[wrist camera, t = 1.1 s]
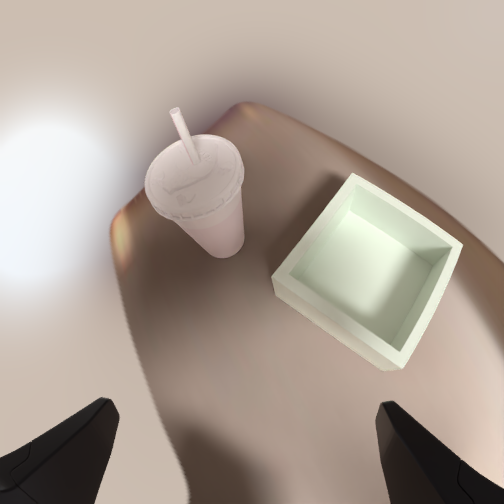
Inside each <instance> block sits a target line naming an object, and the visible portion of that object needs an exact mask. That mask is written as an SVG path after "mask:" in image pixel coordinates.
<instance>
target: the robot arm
mask: <svg viewBox="0 0 504 504" xmlns="http://www.w3.org/2000/svg"><path fill="white" fill-rule="evenodd" d="M118 423H119V413H118V411H117V409H116V407H115V405H114V403H113V401H112V400H111V399H108V398H103V397H101V398H99V399H97V400H95V401H94V402H93V403H91V404H89V405H88V406H86V407H85V408H83V409H82V410H80V411H79V412H77V413H76V414H74V415H73V416H71V417H69V418H68V419H66V420H64V421H63V422H61V423H60V424H58V425H57V426H55V427H53V428H52V429H50V430H49V431H47V432H45V433H44V434H42V435H40V436H39V437H37V438H36V439H34V440H32V442H29V443H27V444H26V445H24V446H22V447H21V448H19V449H17V450H15V451H13V452H11V453H9V454H7V455H5V456H3V457H1V458H0V504H94V503H95V500H96V496H97V493H98V490H99V487H100V484H101V481H102V478H103V475H104V472H105V470H106V467H107V464H108V461H109V458H110V455H111V451H112V448H113V443H114V439H115V435H116V431H117V427H118ZM376 430H377V437H378V444H379V452H380V460H381V465H382V469H383V473H384V477H385V481H386V485H387V489H388V494H389V498H390V502H391V504H504V489H503V488H502V487H500V486H498V485H497V484H495V483H493V482H492V481H490V480H488V479H487V478H485V477H484V476H482V475H481V474H479V473H478V472H477V471H476V470H474V469H473V468H472V467H470V466H469V465H468V464H467V463H466V462H464V461H463V460H461V459H460V458H459V457H458V456H457V455H456V454H455V453H454V452H452V451H451V450H450V449H449V448H448V447H447V446H445V445H444V444H443V443H442V442H441V441H439V440H438V439H437V438H436V437H435V436H434V435H433V434H431V433H430V432H429V431H428V430H427V429H426V428H424V427H423V426H422V425H421V424H420V423H419V422H417V421H416V420H415V419H414V418H413V417H412V416H411V415H409V414H408V413H407V412H406V411H405V410H404V409H403V408H401V407H400V406H399V405H398V404H397V403H396V402H394V401H386V402H382V403H381V404H380V407H379V410H378V413H377V416H376Z"/></svg>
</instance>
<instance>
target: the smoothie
mask: <svg viewBox="0 0 504 504" xmlns="http://www.w3.org/2000/svg"><path fill="white" fill-rule="evenodd" d="M170 115H171V117H172V120H173V122H174V124H175V126H176V128H177V131H178V133H179V135H180V137H181V140H179V141H177V142H175V143H173V144H171V145H170V146H168V147H167V148H166V149H164V150H163V151H162V152H161V153H160V154H159V155H158V156H157V157H156V158H155V159H154V161H153V162H152V163H151V165H150V167H149V169H148V171H147V174H146V177H145V192H146V195H147V197H148V199H149V200H150V202H151V204H152V206H153V207H154V209H155V210H156V211H157V212H158V213H159V214H160V215H162V216H164V217H165V218H167V219H170V220H173V221H174V222H175V223H177V224H178V225H179V226H180V227H181V228H182V229H183V230H184V231H185V232H186V233H187V234H188V235H189V236H191V237H192V238H193V239H194V240H195V241H196V242H197V243H198V244H199V245H200V246H201V247H202V248H204V249H205V250H206V251H207V252H208V253H209V254H210V255H212V256H214V257H216V258H228V257H231V256H233V255H234V254H236V253H237V252H238V251H239V250H240V249H241V247H242V246H243V243H244V238H245V236H244V223H243V209H242V196H241V185H242V183H243V181H244V166H243V162H242V159H241V156H240V153H239V151H238V149H237V148H236V147H235V145H234V144H232V143H231V142H230V141H228V140H227V139H225V138H222V137H220V136H216V135H194V136H190V133H189V131H188V128H187V126H186V124H185V121H184V119H183V116H182V114H181V111H180V109H179V108H173V109H172V110H170Z"/></svg>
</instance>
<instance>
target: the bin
mask: <svg viewBox="0 0 504 504" xmlns="http://www.w3.org/2000/svg"><path fill="white" fill-rule="evenodd" d="M462 247H463V244H461V243H460V242H459V241H457V240H456V239H455V238H453V237H452V236H451V235H449V234H448V233H447V232H445V231H444V230H442V229H441V228H440V227H438V226H437V225H435V224H434V223H432V222H431V221H430V220H428V219H427V218H425V217H424V216H422V215H421V214H419V213H418V212H416V211H415V210H413V209H412V208H410V207H409V206H407V205H405V204H404V203H402V202H401V201H399V200H398V199H396V198H394V197H393V196H391V195H390V194H388V193H386V192H385V191H383V190H381V189H380V188H378V187H376V186H375V185H373V184H371V183H369V182H368V181H366V180H364V179H363V178H361V177H359V176H357V175H356V174H354V173H352V174H351V175H350V177H349V178H348V179H347V180H346V182H345V183H344V184H343V186H342V187H341V188H340V190H339V191H338V192H337V194H336V195H335V196H334V198H333V199H332V200H331V201H330V203H329V204H328V205H327V207H326V208H325V209H324V211H323V212H322V213H321V214H320V216H319V217H318V218H317V220H316V221H315V222H314V223H313V225H312V226H311V227H310V229H309V230H308V231H307V232H306V234H305V235H304V236H303V237H302V239H301V240H300V241H299V242H298V244H297V245H296V246H295V248H294V249H293V250H292V251H291V253H290V254H289V255H288V256H287V258H286V259H285V260H284V261H283V263H282V264H281V265H280V266H279V268H278V269H277V270H276V271H275V273H274V274H273V275H272V276H271V278H272V282H273V287H274V292H275V295H276V296H277V297H279V298H280V299H281V300H283V301H284V302H285V303H287V304H288V305H290V306H291V307H292V308H294V309H295V310H296V311H298V312H299V313H301V314H302V315H303V316H305V317H306V318H308V319H309V320H310V321H312V322H313V323H315V324H316V325H317V326H319V327H320V328H322V329H323V330H324V331H326V332H327V333H329V334H330V335H331V336H333V337H334V338H336V339H337V340H338V341H340V342H341V343H343V344H344V345H346V346H347V347H348V348H350V349H351V350H353V351H354V352H355V353H357V354H358V355H360V356H361V357H363V358H364V359H365V360H367V361H368V362H370V363H371V364H373V365H374V366H376V367H377V368H378V369H380V370H381V371H390V370H399V369H403V368H404V366H405V364H406V363H407V361H408V359H409V358H410V356H411V354H412V353H413V351H414V349H415V347H416V346H417V344H418V342H419V340H420V339H421V337H422V335H423V333H424V331H425V329H426V327H427V326H428V324H429V322H430V320H431V318H432V316H433V314H434V312H435V310H436V308H437V306H438V304H439V301H440V299H441V297H442V295H443V293H444V291H445V288H446V286H447V284H448V282H449V279H450V277H451V275H452V272H453V270H454V267H455V265H456V262H457V260H458V257H459V255H460V252H461V249H462Z"/></svg>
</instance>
